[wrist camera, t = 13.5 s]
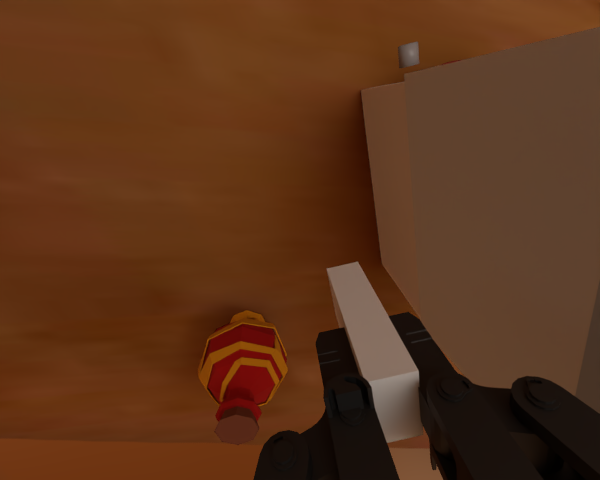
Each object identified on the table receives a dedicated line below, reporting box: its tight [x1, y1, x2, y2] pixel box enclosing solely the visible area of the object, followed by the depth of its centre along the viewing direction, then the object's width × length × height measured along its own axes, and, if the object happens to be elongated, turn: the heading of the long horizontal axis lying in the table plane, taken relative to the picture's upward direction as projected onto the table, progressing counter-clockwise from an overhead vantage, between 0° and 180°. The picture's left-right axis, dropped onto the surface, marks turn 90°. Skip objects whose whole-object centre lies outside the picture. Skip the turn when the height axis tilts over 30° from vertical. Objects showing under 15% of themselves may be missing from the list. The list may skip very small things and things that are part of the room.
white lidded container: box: [361, 42, 421, 319], centre depth 30 cm, size 24×14×14 cm, turn 12°
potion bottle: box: [198, 310, 288, 445], centre depth 36 cm, size 10×10×15 cm
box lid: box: [404, 27, 600, 414], centre depth 18 cm, size 21×14×1 cm
